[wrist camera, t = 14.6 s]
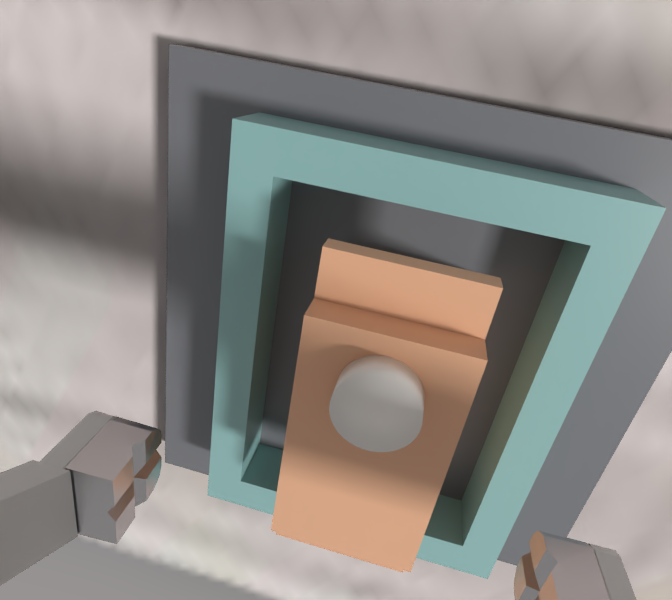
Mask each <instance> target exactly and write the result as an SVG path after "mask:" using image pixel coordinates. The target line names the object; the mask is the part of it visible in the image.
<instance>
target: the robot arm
mask: <svg viewBox="0 0 672 600" xmlns="http://www.w3.org/2000/svg"><path fill="white" fill-rule="evenodd" d="M160 444H161V431H160V430H159V429H157V428H153V427H150V426H147V425H143V424H140V423H137V422H133V421H130V420H126V419H123V418H120V417H115V416H112V415H108V414H105V413H102V412H98V411H94V412H92V413H89V414H88V415H86V416H85V417H84V418H83V419H82V420H81V421H80V422H79V423H78V424H77V425H76V426H75V427H74V428H73V429H72V430H71V431H70V432H69V433H68V434H67V435H66V436H65V437H64V438H63V439H62V440H61V441H60V442H59V443H58V444H57V445H56V446H55V447H54V448H53V449H52V450H51V451H50V452H49V453H48V454H47V455H46V456H45V457H44V458H43V459H42V460H41V461H40V462H38V461H34V460H32V461H30V462H27V463H25V464H22V465H19V466H17V467H14V468H12V469H9V470H7V471H4V472H2V473H0V585H2V584H4V583H5V582H7V581H8V580H10V579H11V578H13V577H15V576H16V575H18V574H19V573H21V572H23V571H24V570H26V569H27V568H29V567H30V566H32V565H33V564H35V563H37V562H38V561H40V560H42V559H43V558H44V557H46V556H48V555H49V554H51V553H52V552H54V551H56V550H57V549H59V548H60V547H62V546H64V545H65V544H67V543H68V542H70V541H71V540H73V539H75V538H76V537H78V534H80V535H84V536H88V537H92V538H96V539H99V540H103V541H107V542H111V543H115V544H117V543H118V542H119V540H120V539H121V537H122V536H123V534H124V533H125V531H126V530H127V529H128V527H129V526H130V524H131V523H132V521H133V520H134V518H135V506H137V505H139V504H141V503H142V502H144V501H146V500H147V499H148V497H149V496H150V494H151V493H152V491H153V490H154V487H155V485H156V483H157V480H158V478H159V475H160V470H161V456H160V455H159V453H158V452H157V450H156V449H157V448H158V446H159V445H160ZM529 545H530V551H531V552H530V553H528V554H526V555H523V556H522V557H521V559H520V561H519V563H518V565H517V568H516V573H515V579H514V595H515V600H636V597H635V594H634V592H633V589H632V586H631V584H630V581H629V578H628V576H627V573H626V571H625V568H624V565H623V563H622V560H621V557H620V555H619V554H618V553H617V552H616V551H615V550H612V549H608V548H604V547H600V546H596V545H592V544H587V543H585V542H581V541H577V540H574V539H570V538H566V537H562V536H558V535H554V534H550V533H546V532H542V531H537V532H535V533H534V534H533V536H532V537H531V539H530V541H529Z"/></svg>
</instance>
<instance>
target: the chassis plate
mask: <svg viewBox="0 0 672 600" xmlns="http://www.w3.org/2000/svg"><path fill="white" fill-rule="evenodd" d="M328 238H330V239H334V240H338V241H343V242H347V243H351V244H356V245H360V246H364V247H369V248H373V249H377V250H382V251H386V252H391V253H395V254H399V255H404V256H408V257H412V258H417V259H421V260H425V261H430V262H434V263H438V264H443V265H447V266H451V267H456V268H460V269H465V270H469V271H473V272H478V273H482V274H486V275H491V276H495V277H499V278H501V281H502V285H503V290H502V293H501V296H500V299H499V302H498V304H497V307H496V310H495V313H494V316H493V319H492V321H491V324H490V327H489V330H488V333H487V336H486V338H485V343H486V351H487V358H488V362H487V364H486V367H485V370H484V373H483V375H482V378H481V381H480V384H479V386H478V389H477V392H476V394H475V397H474V400H473V403H472V405H471V408H470V411H469V414H468V416H467V419H466V422H465V425H464V427H463V430H462V433H461V436H460V438H459V441H458V444H457V446H456V449H455V452H454V455H453V457H452V460H451V463H450V466H449V468H448V471H447V474H446V477H445V479H444V482H443V485H442V487H441V490H440V493H439V496H438V498H437V501H436V504H435V507H434V509H433V512H432V515H431V518H430V520H429V523H428V526H427V529H426V531H425V534H424V537H423V539H422V542H421V545H420V548H419V550H418V553H417V556H416V558H419V559H423V560H426V561H429V562H433V563H436V564H439V565H443V566H446V567H449V568H453V569H456V570H459V571H463V572H466V573H469V574H473V575H476V576H480V577H483V578H486V579H488V577H489V575H490V573H491V571H492V569H493V566H494V564H495V562H496V560H500V561H503V562H506V563H510V564H513V565H518V563H519V561H520V559H521V557H522V556H523V555H526V554H528V553H530V552H531V551H530V545H529V541H530V539H531V537H532V536H533V534H534V533H535V532H537V531H542V532H546V533H550V534H554V535H558V536H562V537H567V535H568V534H569V532H570V530H571V528H572V526H573V525H574V523H575V521H576V519H577V518H578V516H579V514H580V512H581V511H582V509H583V507H584V505H585V503H586V502H587V500H588V498H589V496H590V495H591V493H592V491H593V489H594V487H595V486H596V484H597V482H598V480H599V479H600V477H601V475H602V473H603V472H604V470H605V468H606V466H607V464H608V463H609V461H610V459H611V457H612V456H613V454H614V452H615V450H616V448H617V447H618V445H619V443H620V441H621V440H622V438H623V436H624V434H625V432H626V431H627V429H628V427H629V425H630V424H631V422H632V420H633V418H634V417H635V415H636V413H637V411H638V409H639V408H640V406H641V404H642V402H643V401H644V399H645V397H646V395H647V393H648V392H649V390H650V388H651V386H652V385H653V383H654V381H655V379H656V378H657V376H658V374H659V372H660V370H661V369H662V367H663V365H664V363H665V362H666V360H667V358H668V356H669V354H670V353H671V351H672V139H671V138H665V137H660V136H655V135H650V134H644V133H639V132H634V131H629V130H624V129H618V128H613V127H608V126H603V125H597V124H592V123H587V122H582V121H576V120H571V119H566V118H561V117H556V116H550V115H545V114H540V113H535V112H529V111H524V110H519V109H514V108H509V107H503V106H498V105H493V104H488V103H482V102H477V101H472V100H467V99H462V98H456V97H451V96H446V95H441V94H435V93H430V92H425V91H420V90H415V89H409V88H404V87H399V86H394V85H388V84H383V83H378V82H373V81H367V80H362V79H357V78H352V77H347V76H341V75H336V74H331V73H326V72H320V71H315V70H310V69H305V68H300V67H294V66H289V65H284V64H279V63H273V62H268V61H263V60H258V59H253V58H247V57H242V56H237V55H232V54H226V53H221V52H216V51H211V50H206V49H200V48H195V47H190V46H183V45H172V44H169V106H168V210H167V314H166V418H165V462H166V463H169V464H173V465H176V466H180V467H183V468H187V469H190V470H193V471H197V472H200V473H204V474H207V475H209V482H208V496H212V497H215V498H218V499H222V500H225V501H229V502H232V503H235V504H239V505H242V506H245V507H249V508H252V509H255V510H259V511H262V512H265V513H269V514H272V515H273V513H274V507H275V500H276V494H277V487H278V481H279V474H280V468H281V461H282V455H283V448H284V442H285V436H286V429H287V423H288V416H289V410H290V403H291V397H292V390H293V384H294V377H295V371H296V364H297V358H298V351H299V345H300V338H301V332H302V325H303V319H304V314H305V313H306V311H307V309H308V308H309V306H310V304H311V302H312V301H313V299H314V296H315V289H316V283H317V277H318V271H319V265H320V259H321V252H322V246H323V245H324V244H325V242H326V241H327V239H328Z"/></svg>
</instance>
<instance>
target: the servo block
mask: <svg viewBox="0 0 672 600" xmlns="http://www.w3.org/2000/svg"><path fill="white" fill-rule="evenodd" d="M502 290H503V285H502V281H501V278H499V277H495V276H491V275H486V274H482V273H478V272H473V271H469V270H465V269H460V268H456V267H451V266H447V265H443V264H438V263H434V262H430V261H425V260H421V259H417V258H412V257H408V256H404V255H399V254H395V253H391V252H386V251H382V250H377V249H373V248H369V247H364V246H360V245H356V244H351V243H347V242H343V241H338V240H334V239H330V238H328V239H327V241H326V242H325V244H324V245H323V246H322V252H321V259H320V265H319V271H318V277H317V283H316V289H315V296H314V299H313V301H312V302H311V304H310V306H309V308H308V309H307V311H306V313H305V314H304V319H303V325H302V332H301V338H300V345H299V351H298V358H297V364H296V371H295V377H294V384H293V390H292V397H291V403H290V410H289V416H288V423H287V429H286V436H285V442H284V448H283V455H282V461H281V468H280V474H279V481H278V487H277V494H276V500H275V507H274V513H273V520H272V526H271V530H272V531H275V532H276V534H277V535H281V536H284V537H287V538H291V539H294V540H297V541H300V542H304V543H307V544H310V545H314V546H317V547H320V548H324V549H327V550H330V551H333V552H337V553H340V554H343V555H347V556H350V557H353V558H357V559H360V560H363V561H367V562H370V563H373V564H376V565H380V566H383V567H386V568H390V569H393V570H396V571H400V572H403V570H405V571H408V572H411V570H412V567H413V564H414V561H415V559H416V556H417V553H418V550H419V548H420V545H421V542H422V539H423V537H424V534H425V531H426V529H427V526H428V523H429V520H430V518H431V515H432V512H433V509H434V507H435V504H436V501H437V498H438V496H439V493H440V490H441V487H442V485H443V482H444V479H445V477H446V474H447V471H448V468H449V466H450V463H451V460H452V457H453V455H454V452H455V449H456V446H457V444H458V441H459V438H460V436H461V433H462V430H463V427H464V425H465V422H466V419H467V416H468V414H469V411H470V408H471V405H472V403H473V400H474V397H475V394H476V392H477V389H478V386H479V384H480V381H481V378H482V375H483V373H484V370H485V367H486V364H487V362H488V358H487V351H486V343H485V338H486V336H487V333H488V330H489V327H490V324H491V321H492V319H493V316H494V313H495V310H496V307H497V304H498V302H499V299H500V296H501V293H502Z"/></svg>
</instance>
